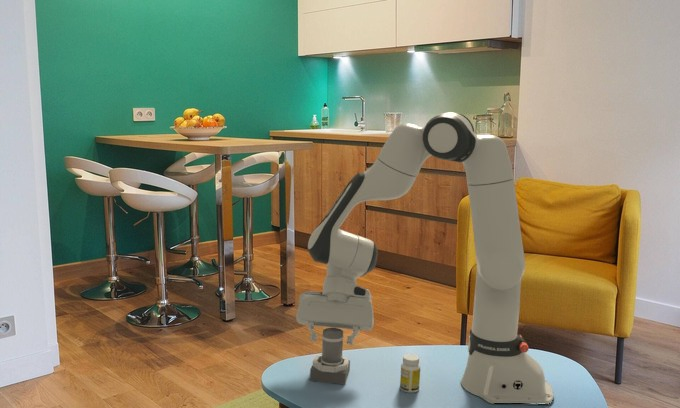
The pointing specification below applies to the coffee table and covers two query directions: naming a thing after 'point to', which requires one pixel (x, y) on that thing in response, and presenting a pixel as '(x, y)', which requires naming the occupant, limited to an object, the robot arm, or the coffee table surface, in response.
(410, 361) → the supplement bottle
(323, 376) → the octagonal ring tray
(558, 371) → the coffee table surface
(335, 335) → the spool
